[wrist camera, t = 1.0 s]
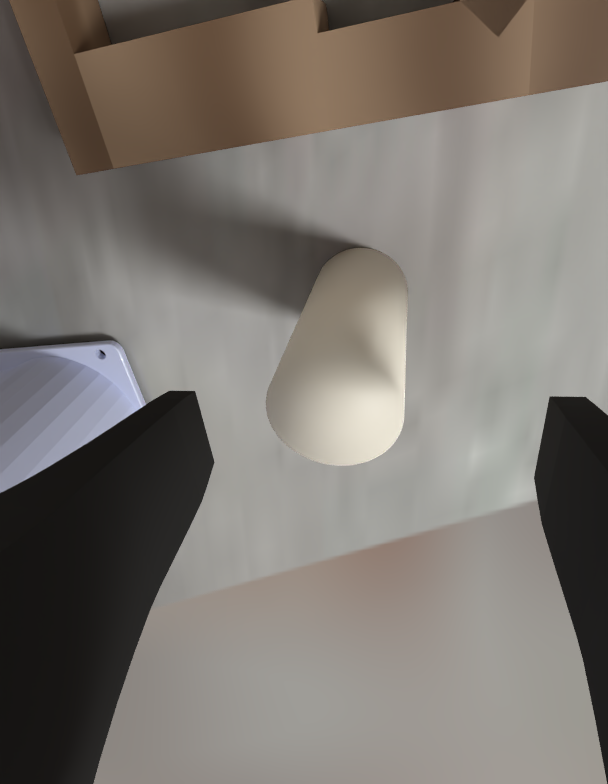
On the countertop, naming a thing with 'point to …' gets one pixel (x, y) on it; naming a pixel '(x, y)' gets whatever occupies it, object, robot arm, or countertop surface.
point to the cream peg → (345, 363)
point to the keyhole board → (294, 71)
